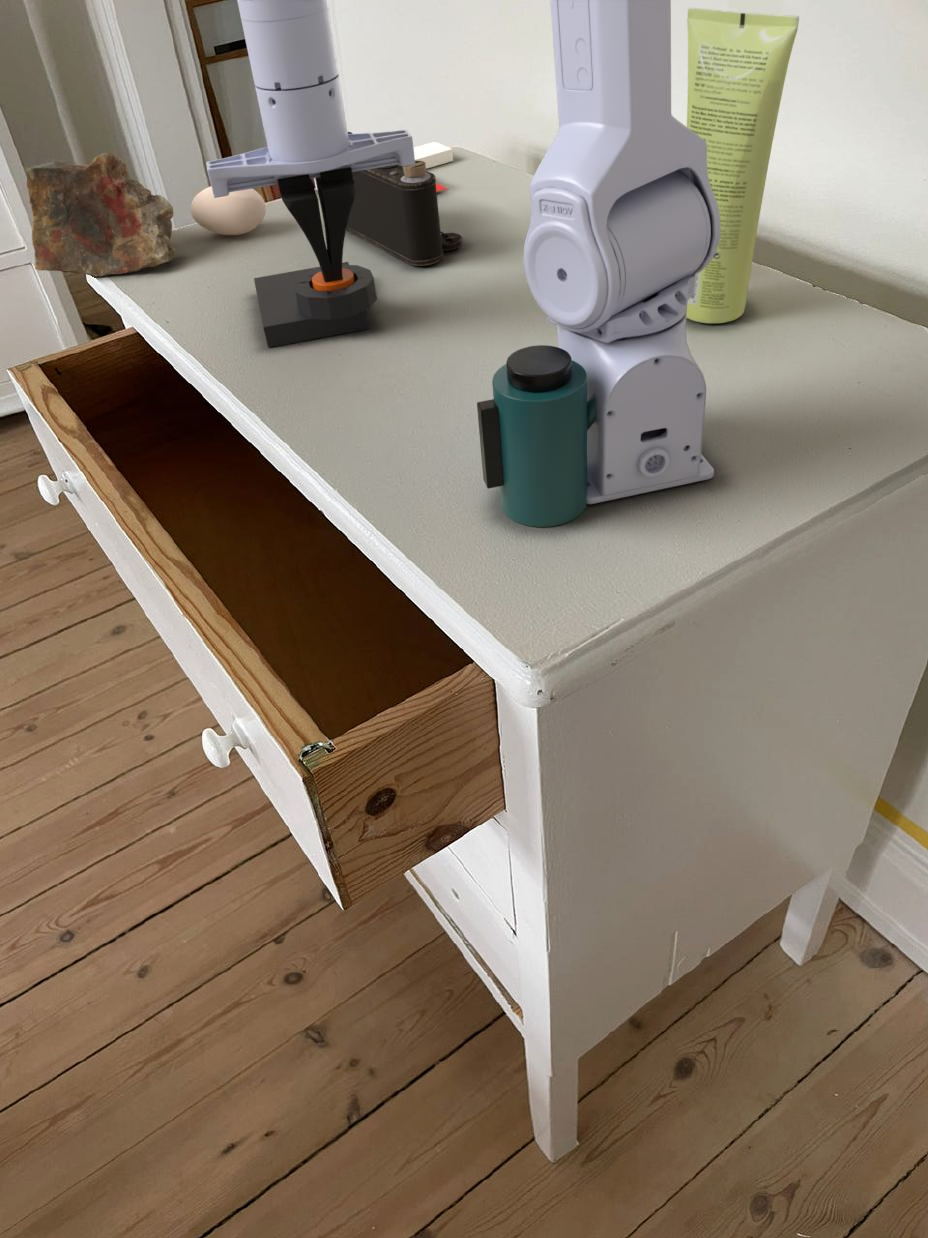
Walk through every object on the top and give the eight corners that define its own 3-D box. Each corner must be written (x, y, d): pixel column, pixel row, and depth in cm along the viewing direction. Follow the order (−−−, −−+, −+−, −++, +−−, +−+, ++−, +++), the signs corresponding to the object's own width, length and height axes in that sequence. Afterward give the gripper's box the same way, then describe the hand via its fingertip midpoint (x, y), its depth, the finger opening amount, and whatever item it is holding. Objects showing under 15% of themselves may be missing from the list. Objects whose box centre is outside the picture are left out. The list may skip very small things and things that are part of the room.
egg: (274, 193, 94) (202, 197, 96) (256, 170, 90) (181, 175, 91) (273, 241, 94) (201, 244, 96) (254, 220, 90) (180, 225, 91)
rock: (109, 179, 96) (38, 117, 86) (215, 193, 92) (153, 131, 82) (73, 298, 95) (-3, 250, 86) (178, 318, 91) (111, 270, 82)
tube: (744, 293, 75) (777, -3, 62) (761, 322, 71) (800, 13, 58) (670, 300, 75) (687, 6, 62) (683, 329, 71) (705, 23, 58)
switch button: (359, 302, 75) (356, 280, 74) (318, 309, 74) (314, 287, 73) (353, 286, 77) (349, 264, 76) (313, 293, 77) (309, 271, 76)
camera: (477, 248, 86) (470, 152, 80) (413, 270, 83) (401, 172, 78) (383, 203, 96) (371, 116, 91) (324, 222, 94) (308, 133, 89)
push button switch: (385, 332, 75) (378, 288, 73) (269, 353, 74) (258, 309, 72) (363, 278, 83) (356, 237, 81) (258, 297, 82) (248, 256, 80)
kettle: (626, 510, 55) (631, 365, 49) (499, 538, 54) (487, 394, 48) (597, 465, 59) (598, 325, 53) (477, 490, 58) (464, 350, 52)
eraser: (396, 151, 105) (413, 160, 103) (434, 140, 107) (452, 148, 104) (397, 163, 106) (414, 172, 103) (435, 152, 108) (453, 160, 105)
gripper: (391, 51, 69) (414, 241, 78) (187, 82, 68) (235, 273, 77) (410, 72, 64) (432, 274, 73) (190, 106, 62) (240, 308, 71)
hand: (332, 276), depth 75 cm, fingers closed, pressing on switch button
